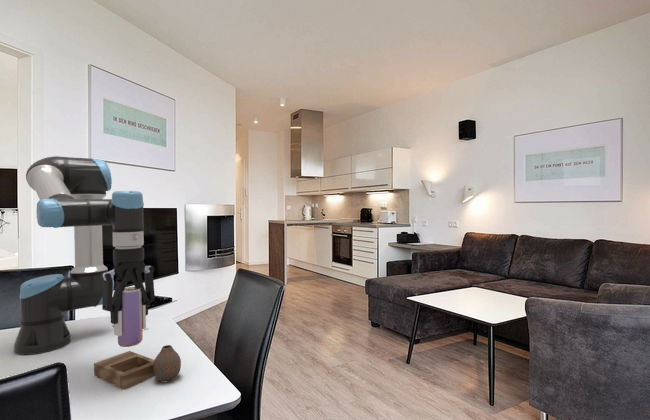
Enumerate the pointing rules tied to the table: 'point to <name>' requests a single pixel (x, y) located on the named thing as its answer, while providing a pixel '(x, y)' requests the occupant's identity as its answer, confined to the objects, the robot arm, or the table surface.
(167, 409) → the table surface
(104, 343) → the table surface
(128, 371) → the wooden recessed tray
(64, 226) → the robot arm
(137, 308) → the beverage can
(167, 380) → the vase
